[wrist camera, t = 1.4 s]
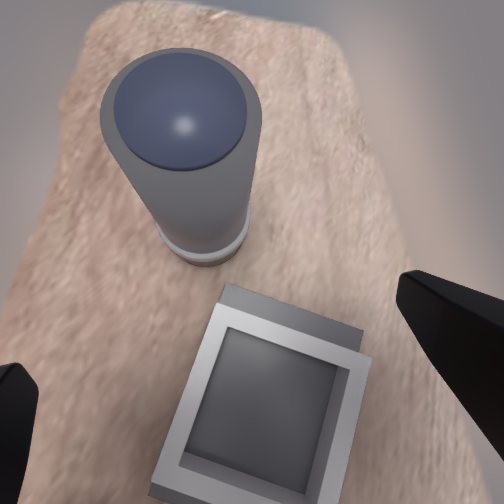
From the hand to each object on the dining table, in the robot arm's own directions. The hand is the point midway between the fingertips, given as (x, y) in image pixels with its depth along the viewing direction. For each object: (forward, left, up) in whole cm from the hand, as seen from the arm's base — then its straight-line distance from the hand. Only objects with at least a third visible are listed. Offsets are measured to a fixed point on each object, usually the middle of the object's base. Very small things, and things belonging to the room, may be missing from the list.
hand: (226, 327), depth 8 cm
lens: (+6, +4, -13) cm, 15 cm away
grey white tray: (-3, -3, -13) cm, 14 cm away
